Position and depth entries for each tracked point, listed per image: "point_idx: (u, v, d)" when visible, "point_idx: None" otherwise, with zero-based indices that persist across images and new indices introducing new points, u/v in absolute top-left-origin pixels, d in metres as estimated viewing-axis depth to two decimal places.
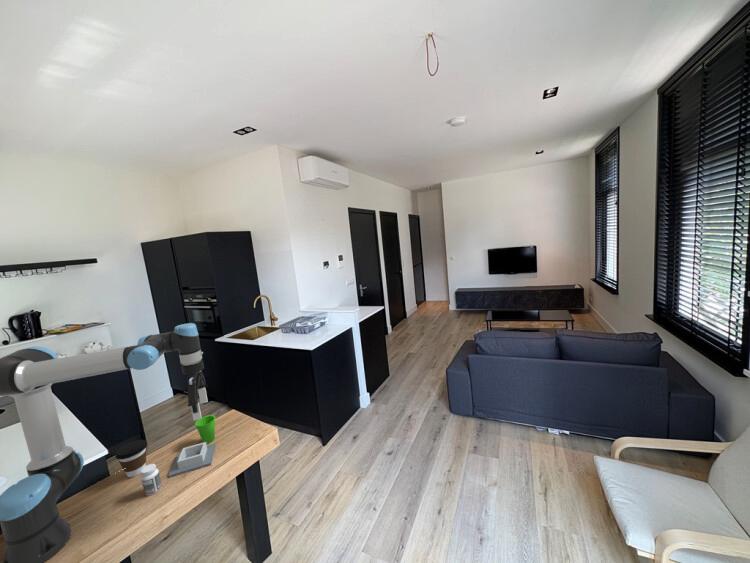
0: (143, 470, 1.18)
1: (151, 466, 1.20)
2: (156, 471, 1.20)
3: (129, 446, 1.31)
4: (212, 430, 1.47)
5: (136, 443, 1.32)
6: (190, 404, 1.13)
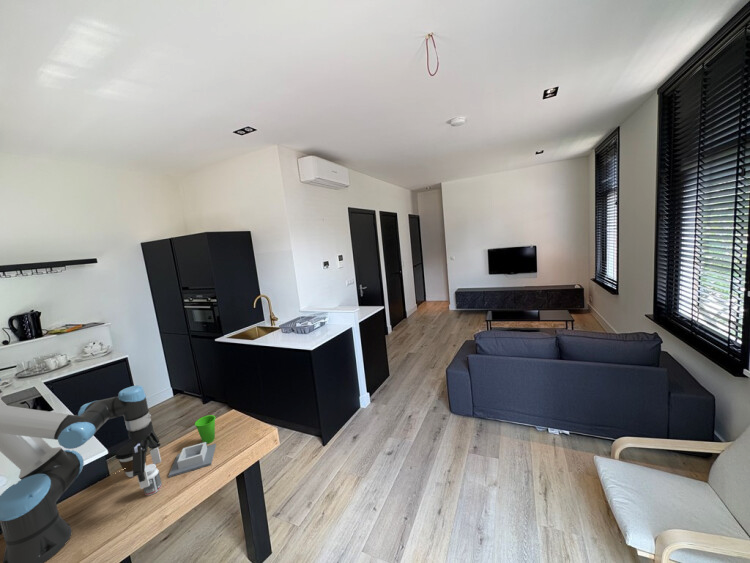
0: None
1: (151, 466, 1.20)
2: (156, 471, 1.20)
3: (129, 446, 1.31)
4: (212, 430, 1.47)
5: None
6: (135, 474, 1.09)
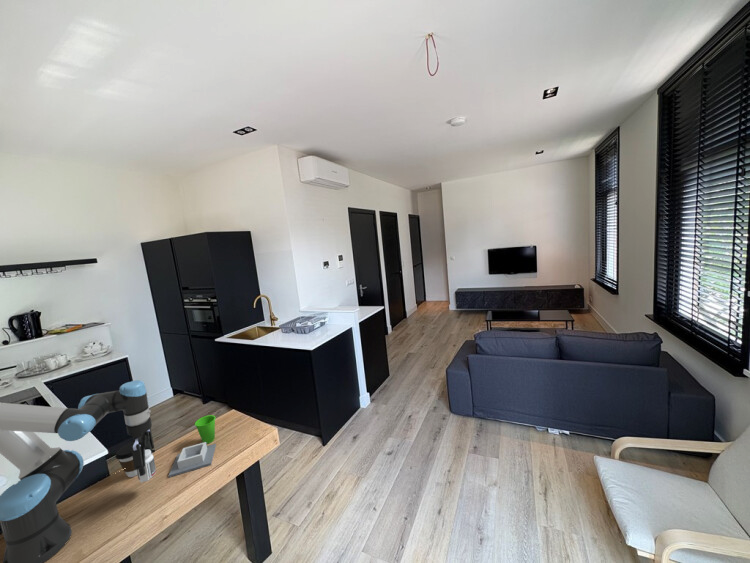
0: None
1: (146, 451, 1.18)
2: (151, 457, 1.19)
3: (129, 446, 1.31)
4: (212, 430, 1.47)
5: None
6: (136, 468, 1.12)
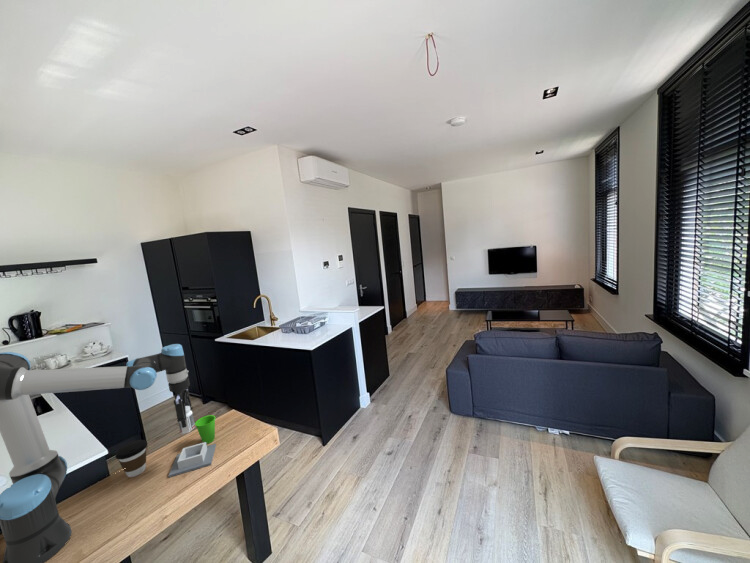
0: None
1: (186, 407, 1.33)
2: (190, 412, 1.33)
3: (129, 446, 1.31)
4: (212, 430, 1.47)
5: (136, 443, 1.32)
6: (179, 420, 1.26)
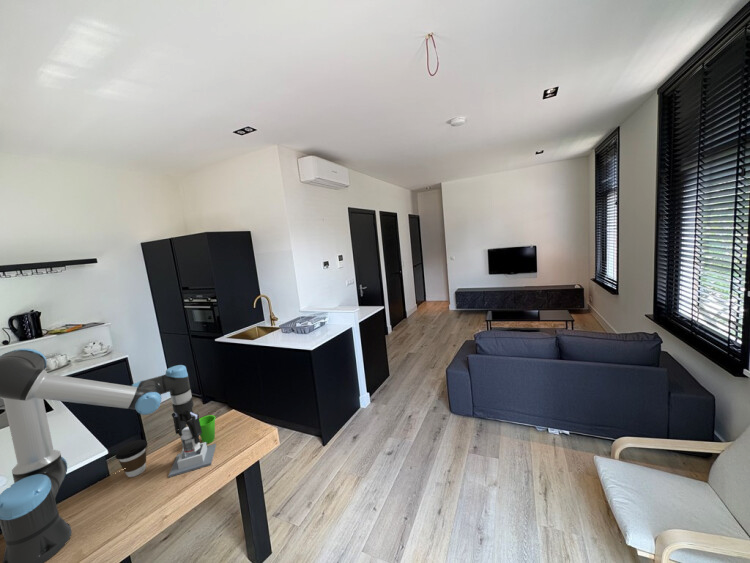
0: (185, 431, 1.31)
1: (188, 427, 1.34)
2: None
3: (129, 446, 1.31)
4: (212, 430, 1.47)
5: (136, 443, 1.32)
6: (198, 434, 1.31)
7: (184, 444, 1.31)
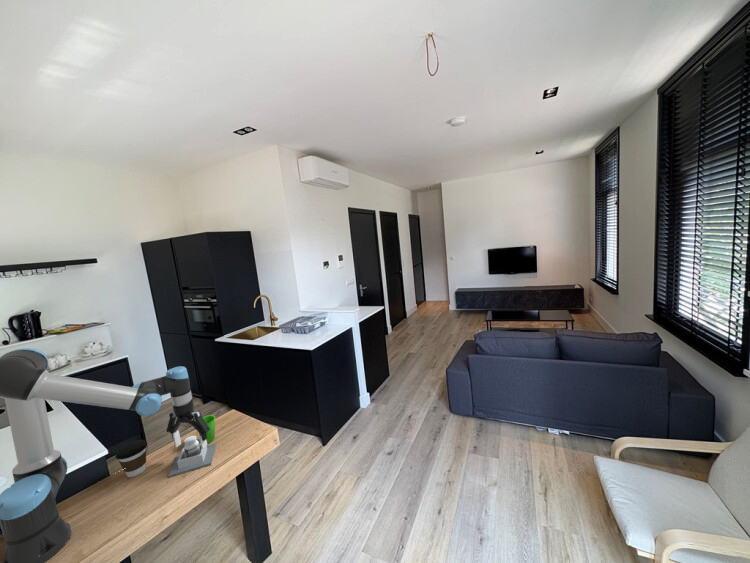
0: (189, 441, 1.32)
1: (190, 437, 1.34)
2: None
3: (129, 446, 1.31)
4: (212, 430, 1.47)
5: (136, 443, 1.32)
6: (206, 430, 1.31)
7: (187, 454, 1.32)
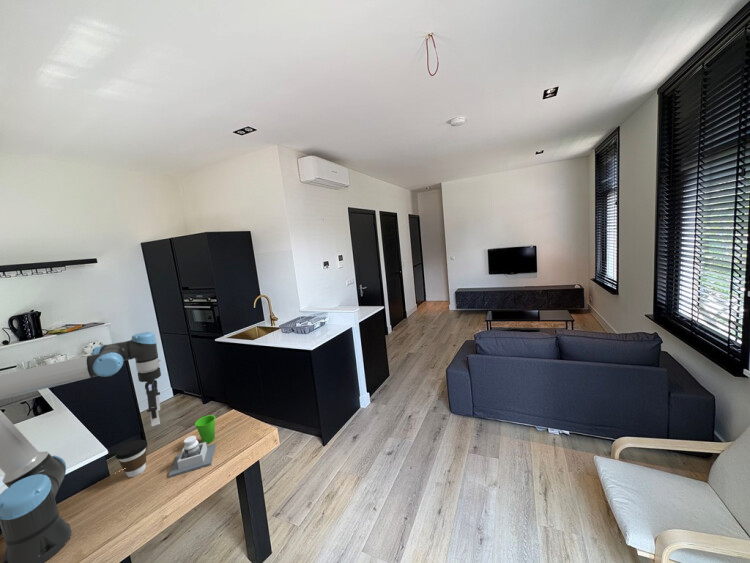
0: (188, 441, 1.32)
1: (190, 437, 1.34)
2: None
3: (129, 446, 1.31)
4: (212, 430, 1.47)
5: (136, 443, 1.32)
6: (150, 409, 1.17)
7: (187, 454, 1.32)
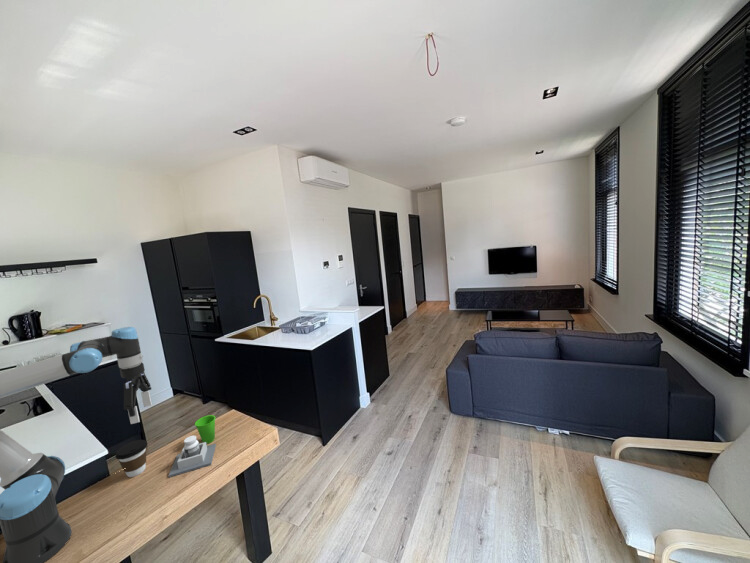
0: (189, 441, 1.32)
1: (190, 437, 1.35)
2: None
3: (129, 446, 1.31)
4: (212, 430, 1.47)
5: (136, 443, 1.32)
6: (125, 408, 1.13)
7: (187, 454, 1.32)
